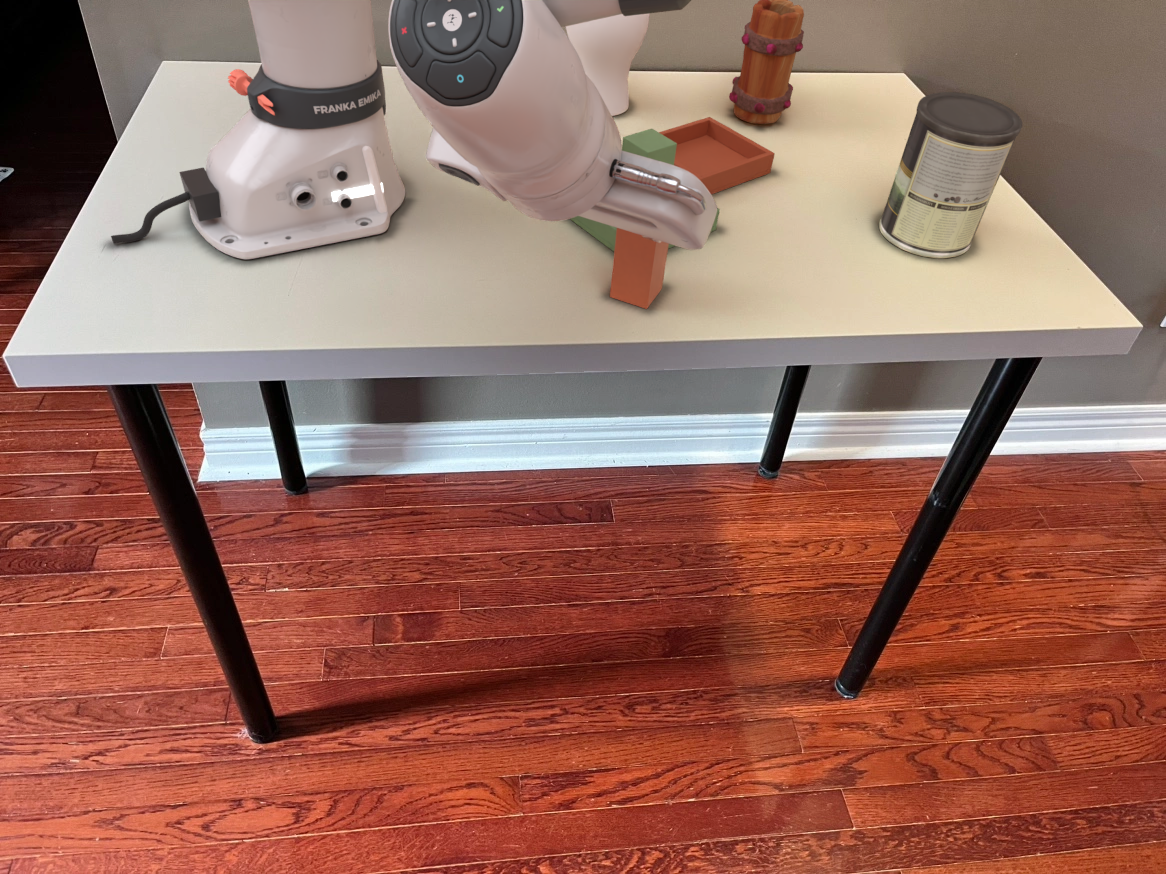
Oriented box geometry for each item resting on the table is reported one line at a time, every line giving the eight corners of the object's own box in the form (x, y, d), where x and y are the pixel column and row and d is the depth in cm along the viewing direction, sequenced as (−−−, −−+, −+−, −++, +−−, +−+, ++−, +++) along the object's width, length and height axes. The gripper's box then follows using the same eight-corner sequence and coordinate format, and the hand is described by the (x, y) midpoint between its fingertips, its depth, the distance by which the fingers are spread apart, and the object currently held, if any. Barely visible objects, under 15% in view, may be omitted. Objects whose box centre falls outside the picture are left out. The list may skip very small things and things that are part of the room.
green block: (638, 231, 95) (647, 152, 88) (615, 214, 97) (622, 136, 90) (666, 220, 96) (677, 143, 90) (642, 204, 99) (651, 127, 92)
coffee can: (859, 218, 101) (897, 97, 91) (929, 204, 104) (974, 86, 94) (917, 266, 94) (966, 141, 84) (990, 249, 97) (1045, 127, 88)
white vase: (562, 85, 122) (568, -33, 111) (639, 91, 122) (651, -26, 111) (558, 118, 114) (563, -5, 104) (639, 125, 114) (653, 3, 104)
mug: (785, 137, 115) (813, 16, 104) (723, 127, 115) (744, 6, 105) (789, 92, 125) (815, -22, 114) (731, 84, 126) (752, -30, 115)
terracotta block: (646, 309, 86) (659, 218, 79) (609, 297, 87) (618, 206, 80) (662, 288, 88) (675, 198, 81) (625, 277, 89) (636, 187, 82)
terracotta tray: (696, 200, 101) (699, 179, 100) (632, 159, 107) (635, 139, 106) (770, 173, 107) (775, 153, 105) (706, 136, 113) (709, 116, 112)
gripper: (717, 142, 54) (738, 213, 68) (436, 66, 60) (506, 145, 73) (681, 238, 55) (709, 290, 68) (404, 153, 60) (480, 217, 73)
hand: (602, 214), depth 71 cm, fingers open, 8 cm apart
